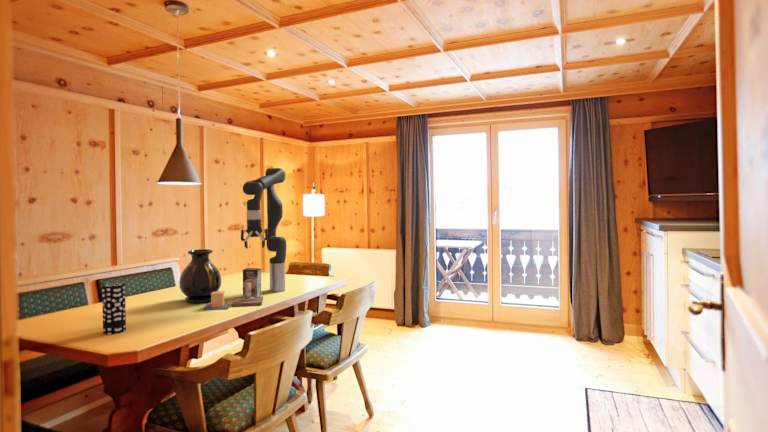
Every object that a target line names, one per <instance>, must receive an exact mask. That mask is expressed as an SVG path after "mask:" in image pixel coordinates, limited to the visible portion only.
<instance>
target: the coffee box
mask: <svg viewBox="0 0 768 432" xmlns="http://www.w3.org/2000/svg"><path fill="white" fill-rule="evenodd" d="M245 283H251V297H262V268H257V267H256V268H255V267H254V268H253V267H246V268H243V269H242V297H245Z"/></svg>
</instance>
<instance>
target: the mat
mask: <svg viewBox="0 0 768 432" xmlns="http://www.w3.org/2000/svg"><path fill="white" fill-rule="evenodd" d="M231 305H232V302H224V305H223V307H211V303H210V302H209V303H206V304H205V305H204V307H203V308H202V311H215V310H216V311H217V310H229V307H230V306H231Z"/></svg>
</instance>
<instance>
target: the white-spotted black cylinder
mask: <svg viewBox="0 0 768 432" xmlns="http://www.w3.org/2000/svg"><path fill="white" fill-rule="evenodd" d="M101 296H102V297H101V299H102V304H101V305H102V334H103V333H104V335H116V334H115V333H117V334H121V333H123V331H124V332H126V331H127V320H126V319H127V318H126V317H127V316H126V313H127V312H126V283H124V282H112V283H110V282H109V283H105V284H103V285H101ZM125 330H126V331H125ZM120 332H121V333H120Z"/></svg>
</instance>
